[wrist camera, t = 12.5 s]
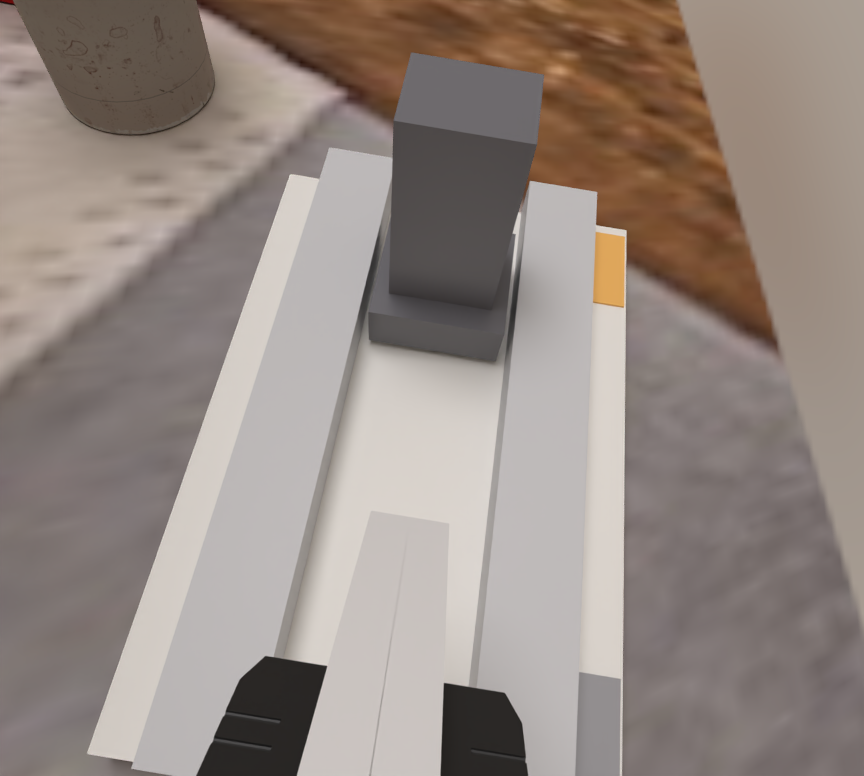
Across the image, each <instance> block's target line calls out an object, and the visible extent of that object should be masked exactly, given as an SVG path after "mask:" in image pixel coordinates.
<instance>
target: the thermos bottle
mask: <svg viewBox="0 0 864 776" xmlns="http://www.w3.org/2000/svg"><path fill="white" fill-rule="evenodd" d="M13 1H14V4H15V6H16V8H17V10H18V12H19V14H20V16H21V18H22V20H23V22H24V24H25V26H26V28H27V30H28V32H29V34H30V36H31V38H32V40H33V42H34V44H35V46H36V48H37V50H38V52H39V54H40V56H41V58H42V60H43V62H44V64H45V66H46V68H47V70H48V72H49V74H50V76H51V78H52V80H53V82H54V84H55V86H56V88H57V90H58V92H59V94H60V96H61V98H62V100H63V102H64V104H65V105H66V107H67V109H68V110H69V111H70V112H71V113H72V114H73V115H74V116H75V117H76V118H77V119H78V120H80V121H82V122H83V123H85V124H86V125H88V126H91V127H93V128H96V129H98V130H101V131H106V132H110V133H115V134H130V135H131V134H146V133H151V132H156V131H161V130H164V129H167V128H170V127H173V126H176V125H178V124H180V123H182V122H184V121H186V120H188V119H189V118H190V117H192V116H193V115H195V114H196V113H197V112H199V110H200V109H201V108H202V107H203V106H204V105H205V104H206V103H207V101H208V99H209V98H210V96H211V94H212V91H213V87H214V71H213V67H212V63H211V59H210V55H209V51H208V47H207V43H206V39H205V34H204V30H203V26H202V22H201V18H200V14H199V10H198V6H197V2H196V0H13Z"/></svg>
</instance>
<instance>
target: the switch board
mask: <svg viewBox="0 0 864 776" xmlns="http://www.w3.org/2000/svg"><path fill="white" fill-rule="evenodd" d="M392 161H393V158H390V157H384V156H378V155H372V154H366V153H360V152H354V151H348V150H342V149H336V148H329V151H328V154H327V157H326V160H325V163H324V166H323V169H322V173H321V176H320V179H317V178H311V177H305V176H299V175H293V174H290V176H289V179H288V182H287V185H286V188H285V190H284V193H283V196H282V199H281V202H280V205H279V208H278V210H277V213H276V216H275V219H274V222H273V225H272V228H271V230H270V233H269V236H268V239H267V242H266V245H265V247H264V250H263V253H262V256H261V259H260V262H259V265H258V267H257V270H256V273H255V276H254V279H253V282H252V285H251V287H250V290H249V293H248V296H247V299H246V302H245V305H244V307H243V310H242V313H241V316H240V319H239V322H238V324H237V327H236V330H235V333H234V336H233V339H232V342H231V344H230V347H229V350H228V353H227V356H226V359H225V362H224V364H223V367H222V370H221V373H220V376H219V379H218V381H217V384H216V387H215V390H214V393H213V396H212V399H211V401H210V404H209V407H208V410H207V413H206V416H205V419H204V421H203V424H202V427H201V430H200V433H199V436H198V439H197V441H196V444H195V447H194V450H193V453H192V456H191V458H190V461H189V464H188V467H187V470H186V473H185V476H184V478H183V481H182V484H181V487H180V490H179V493H178V496H177V498H176V501H175V504H174V507H173V510H172V513H171V515H170V518H169V521H168V524H167V527H166V530H165V533H164V535H163V538H162V541H161V544H160V547H159V550H158V553H157V555H156V558H155V561H154V564H153V567H152V570H151V573H150V575H149V578H148V581H147V584H146V587H145V590H144V592H143V595H142V598H141V601H140V604H139V607H138V610H137V612H136V615H135V618H134V621H133V624H132V627H131V630H130V632H129V635H128V638H127V641H126V644H125V647H124V649H123V652H122V655H121V658H120V661H119V664H118V667H117V669H116V672H115V675H114V678H113V681H112V684H111V687H110V689H109V692H108V695H107V698H106V701H105V704H104V707H103V709H102V712H101V715H100V718H99V721H98V724H97V726H96V729H95V732H94V735H93V738H92V741H91V744H90V746H89V749H88V752H87V754H90V755H96V756H102V757H108V758H114V759H120V760H126V761H131V762H133V764H132V767H131V769H136V770H142V771H148V772H154V773H159V774H165V775H171V776H196V775H197V773H198V770H199V768H200V766H201V764H202V762H203V759H204V757H205V755H206V753H207V750H208V748H209V746H210V744H211V743H212V742H213V739H214V735H215V733H216V731H217V728H218V726H219V724H220V722H221V719H222V717H223V716H224V715H225V712H226V708H227V706H228V704H229V702H230V700H231V697H232V695H233V693H234V691H235V688H236V686H237V684H238V682H239V680H240V678H242V677H243V676H244V675H245V674H246V673H247V672H248V671H249V670H250V669H251V668H253V667H254V666H255V665H256V664H257V663H258V662H259V661H260V660H261V659H262V658H264V657H265V656H270V657H276V658H282V659H288V660H294V661H300V662H306V663H312V664H318V665H325V666H328V662H329V659H330V655H331V652H332V648H333V645H334V641H335V637H336V634H337V630H338V627H339V623H340V620H341V616H342V613H343V609H344V605H345V602H346V598H347V595H348V591H349V588H350V584H351V580H352V577H353V573H354V570H355V566H356V563H357V559H358V555H359V552H360V548H361V545H362V541H363V538H364V534H365V530H366V527H367V523H368V520H369V516H370V513H371V511H377V512H383V513H389V514H395V515H401V516H407V517H413V518H419V519H425V520H431V521H437V522H443V523H449V548H448V576H447V604H446V632H445V660H444V683H449V684H455V685H461V686H467V687H473V688H479V689H485V690H491V691H497V692H503V693H505V694H506V695H507V697H508V699H509V701H510V703H511V704H512V706H513V708H514V710H515V711H516V713H517V715H518V717H519V718H520V720H521V722H522V726H523V735H524V743H525V752H526V763H527V770H528V776H622V704H623V580H624V457H625V333H626V230H621V229H615V228H609V227H603V226H597V225H596V207H597V192H593V191H587V190H581V189H575V188H569V187H563V186H557V185H551V184H545V183H539V182H533V181H530V183H529V187H528V190H527V194H526V198H525V201H524V205H523V208H522V212H521V213H520V212H518V215H517V219H516V222H515V226H514V230H513V233H512V234H516V236H515V245H514V254H513V263H512V271H511V280H510V289H509V298H508V306H507V315H506V324H505V333H504V337H503V340H502V343H501V346H500V349H499V352H498V356H497V359H496V361H491V360H485V359H479V358H473V357H467V356H461V355H455V354H449V353H443V352H437V351H431V350H425V349H419V348H413V347H407V346H401V345H395V344H390V343H384V342H378V341H372V340H369V329H368V310H369V306H370V302H371V298H372V294H373V289H374V285H375V281H376V277H377V273H378V268H379V264H380V260H381V256H382V252H383V247H384V243H385V239H386V235H387V231H388V226H389V222H390V218H391V195H392Z"/></svg>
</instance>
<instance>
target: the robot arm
mask: <svg viewBox="0 0 864 776" xmlns="http://www.w3.org/2000/svg"><path fill="white" fill-rule="evenodd" d="M448 548H449V523H443V522H437V521H431V520H425V519H419V518H413V517H407V516H401V515H395V514H389V513H383V512H377V511H371V513H370V516H369V520H368V523H367V527H366V530H365V534H364V538H363V541H362V545H361V548H360V552H359V555H358V559H357V563H356V566H355V570H354V573H353V577H352V580H351V584H350V588H349V591H348V595H347V598H346V602H345V605H344V609H343V613H342V616H341V620H340V623H339V627H338V630H337V634H336V637H335V641H334V645H333V648H332V652H331V655H330V659H329V662H328V666H325V665H318V664H312V663H306V662H300V661H294V660H288V659H282V658H276V657H270V656H265V657H264V658H262V659H261V660H260V661H259V662H258V663H257V664H256V665H255V666H254V667H253V668H251V669H250V670H249V671H248V672H247V673H246V674H245V675H244V676H243V677H242V678H240V680H239V682H238V684H237V686H236V688H235V691H234V693H233V695H232V697H231V700H230V702H229V704H228V706H227V708H226V712H225V715H224V716H223V717H222V719H221V722H220V724H219V726H218V728H217V731H216V733H215V735H214V739H213V742H212V743H211V744H210V746H209V748H208V750H207V753H206V755H205V757H204V759H203V762H202V764H201V766H200V768H199V770H198V773H197V775H196V776H528V770H527V763H526V752H525V743H524V735H523V726H522V722H521V720H520V718H519V717H518V715H517V713H516V711H515V710H514V708H513V706H512V704H511V703H510V701H509V699H508V697H507V695H506V694H505V693H503V692H497V691H491V690H485V689H479V688H473V687H467V686H461V685H455V684H449V683H444V660H445V632H446V604H447V576H448Z"/></svg>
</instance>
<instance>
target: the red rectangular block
mask: <svg viewBox="0 0 864 776" xmlns="http://www.w3.org/2000/svg"><path fill="white" fill-rule="evenodd" d="M0 1H3V2H7V3H12V4H14V1H13V0H0Z"/></svg>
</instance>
